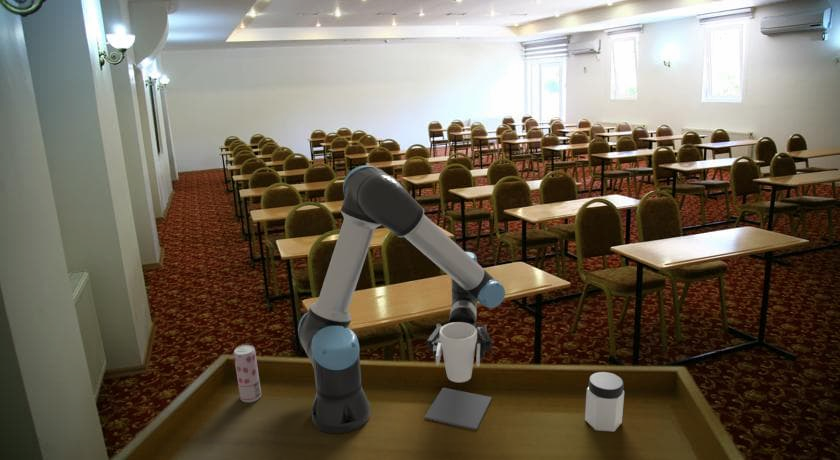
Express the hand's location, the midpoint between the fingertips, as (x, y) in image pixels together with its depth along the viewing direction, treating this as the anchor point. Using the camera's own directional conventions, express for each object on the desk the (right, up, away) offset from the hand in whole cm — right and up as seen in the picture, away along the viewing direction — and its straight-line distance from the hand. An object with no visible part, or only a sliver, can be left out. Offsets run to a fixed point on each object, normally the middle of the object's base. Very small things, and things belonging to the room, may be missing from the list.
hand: (457, 361), depth 151 cm
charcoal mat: (+1, -15, +10) cm, 18 cm away
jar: (+37, -16, +3) cm, 40 cm away
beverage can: (-56, -14, +18) cm, 61 cm away
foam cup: (+1, -5, +7) cm, 8 cm away
